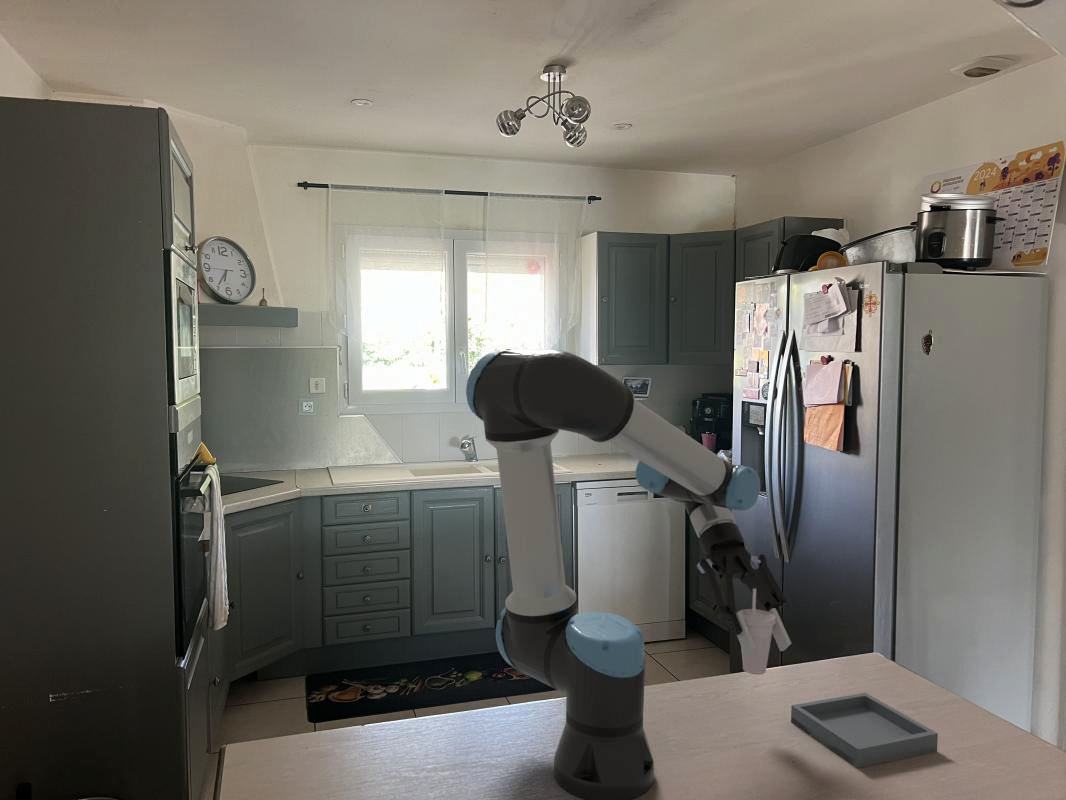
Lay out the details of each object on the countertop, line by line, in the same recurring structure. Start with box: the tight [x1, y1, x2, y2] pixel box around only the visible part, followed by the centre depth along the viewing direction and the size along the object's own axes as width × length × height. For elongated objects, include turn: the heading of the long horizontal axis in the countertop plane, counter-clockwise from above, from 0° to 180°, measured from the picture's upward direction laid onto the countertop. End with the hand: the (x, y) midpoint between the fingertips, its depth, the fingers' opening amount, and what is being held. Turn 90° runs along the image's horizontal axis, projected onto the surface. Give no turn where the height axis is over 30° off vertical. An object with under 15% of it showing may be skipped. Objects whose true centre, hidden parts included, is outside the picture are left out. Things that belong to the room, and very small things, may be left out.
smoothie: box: [738, 588, 776, 676], centre depth 135 cm, size 6×6×14 cm
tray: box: [790, 692, 939, 769], centre depth 132 cm, size 16×16×3 cm
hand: (768, 649), depth 132 cm, fingers closed on smoothie, 6 cm apart
